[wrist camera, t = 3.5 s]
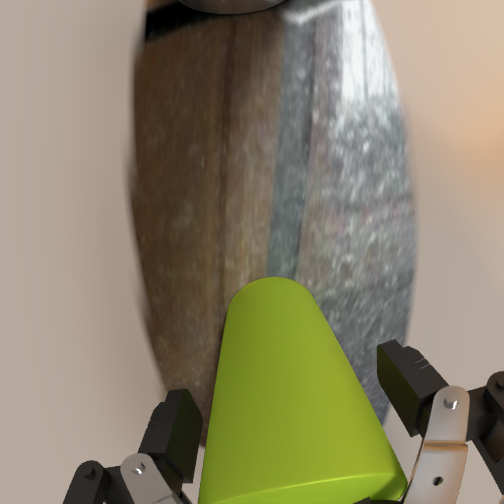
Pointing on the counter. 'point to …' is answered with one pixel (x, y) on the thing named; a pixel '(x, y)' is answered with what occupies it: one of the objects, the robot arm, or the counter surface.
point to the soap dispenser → (291, 410)
